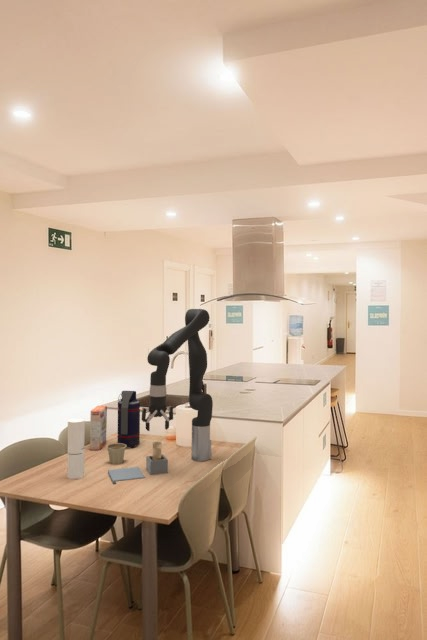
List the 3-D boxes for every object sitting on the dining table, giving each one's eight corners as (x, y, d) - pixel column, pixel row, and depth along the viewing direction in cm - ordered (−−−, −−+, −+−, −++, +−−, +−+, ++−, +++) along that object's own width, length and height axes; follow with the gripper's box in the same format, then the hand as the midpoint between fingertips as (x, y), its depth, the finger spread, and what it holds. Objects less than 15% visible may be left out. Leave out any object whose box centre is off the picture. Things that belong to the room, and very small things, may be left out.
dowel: (159, 469, 220) (160, 441, 220) (162, 471, 216) (162, 443, 216) (151, 469, 219) (151, 441, 218) (153, 472, 215) (153, 444, 215)
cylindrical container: (87, 474, 214) (87, 419, 214) (77, 479, 208) (78, 422, 207) (73, 472, 217) (74, 417, 216) (64, 477, 210) (64, 421, 209)
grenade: (121, 441, 267) (122, 388, 266) (142, 443, 265) (142, 389, 264) (113, 449, 253) (113, 392, 252) (134, 450, 251) (135, 393, 250)
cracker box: (100, 450, 250) (101, 411, 250) (89, 450, 250) (89, 410, 250) (107, 443, 264) (107, 405, 264) (96, 442, 264) (96, 405, 264)
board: (138, 469, 222) (138, 466, 222) (145, 480, 209) (145, 476, 209) (107, 473, 216) (107, 469, 216) (113, 484, 203) (113, 480, 203)
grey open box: (162, 469, 223) (163, 454, 223) (167, 474, 215) (167, 459, 215) (146, 471, 220) (146, 456, 220) (150, 477, 212) (150, 461, 212)
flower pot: (121, 467, 224) (122, 449, 224) (103, 466, 226) (103, 448, 226) (129, 461, 233) (129, 443, 233) (111, 459, 235) (111, 442, 235)
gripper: (170, 392, 223) (170, 426, 223) (140, 393, 218) (140, 429, 218) (175, 395, 216) (174, 430, 216) (144, 396, 211) (143, 433, 211)
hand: (157, 429), depth 217 cm, fingers open, 8 cm apart
